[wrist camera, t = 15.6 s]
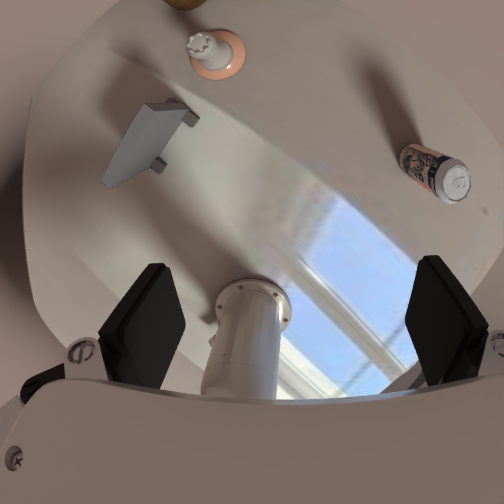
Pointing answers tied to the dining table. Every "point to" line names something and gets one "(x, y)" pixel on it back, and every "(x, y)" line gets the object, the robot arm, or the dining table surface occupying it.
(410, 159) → the beer can
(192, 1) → the utensil holder
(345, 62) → the dining table surface
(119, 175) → the grey upright panel
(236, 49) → the pink round domed part
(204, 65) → the rook chess piece
